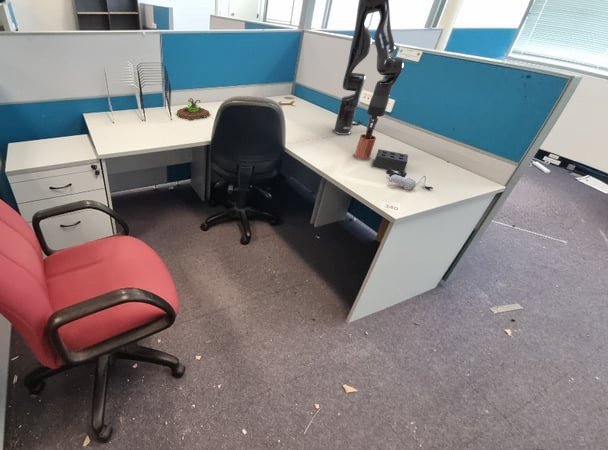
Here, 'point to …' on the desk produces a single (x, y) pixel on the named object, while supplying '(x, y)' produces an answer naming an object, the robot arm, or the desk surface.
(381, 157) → the holder
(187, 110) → the plant
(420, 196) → the desk surface
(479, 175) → the desk surface
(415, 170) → the desk surface
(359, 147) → the pen cup
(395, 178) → the clip-on lamp
